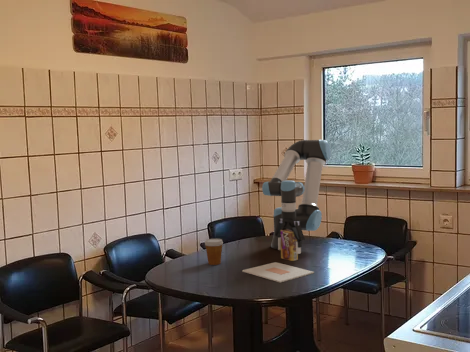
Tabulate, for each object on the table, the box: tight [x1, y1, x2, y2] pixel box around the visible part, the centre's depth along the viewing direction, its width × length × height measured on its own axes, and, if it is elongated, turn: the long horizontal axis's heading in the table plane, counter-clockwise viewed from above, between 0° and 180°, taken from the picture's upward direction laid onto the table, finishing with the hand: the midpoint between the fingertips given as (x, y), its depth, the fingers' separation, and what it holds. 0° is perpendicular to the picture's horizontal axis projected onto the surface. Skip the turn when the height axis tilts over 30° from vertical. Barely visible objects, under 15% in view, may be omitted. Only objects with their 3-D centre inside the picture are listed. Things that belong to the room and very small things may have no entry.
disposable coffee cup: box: [204, 238, 224, 266], centre depth 280 cm, size 10×10×12 cm
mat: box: [242, 261, 315, 283], centre depth 261 cm, size 26×22×1 cm
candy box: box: [280, 229, 299, 262], centre depth 285 cm, size 9×4×15 cm, turn 39°
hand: (289, 251), depth 285 cm, fingers open, 12 cm apart
